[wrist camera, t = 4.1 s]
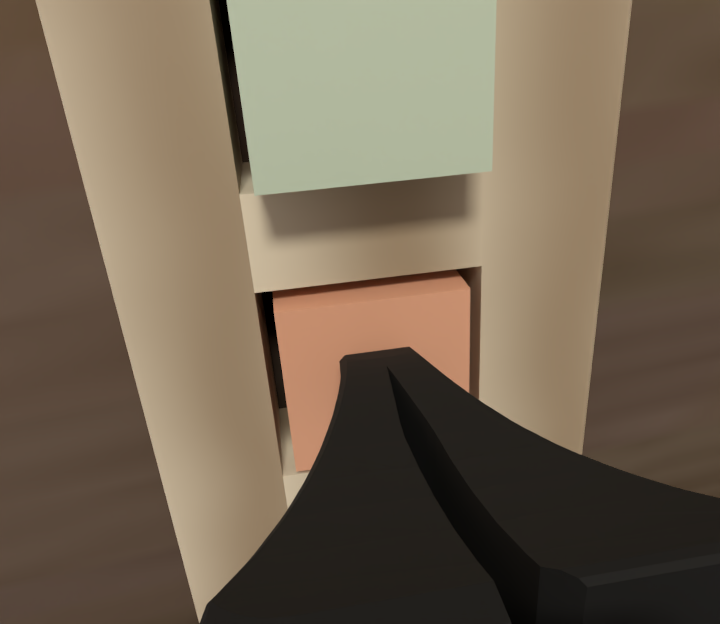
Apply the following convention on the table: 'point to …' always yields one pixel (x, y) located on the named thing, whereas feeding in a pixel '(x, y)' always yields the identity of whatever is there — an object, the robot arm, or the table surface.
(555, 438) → the keypad
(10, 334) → the table surface
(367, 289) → the key terracotta
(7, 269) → the table surface
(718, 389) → the table surface
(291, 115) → the key sage
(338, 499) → the robot arm
